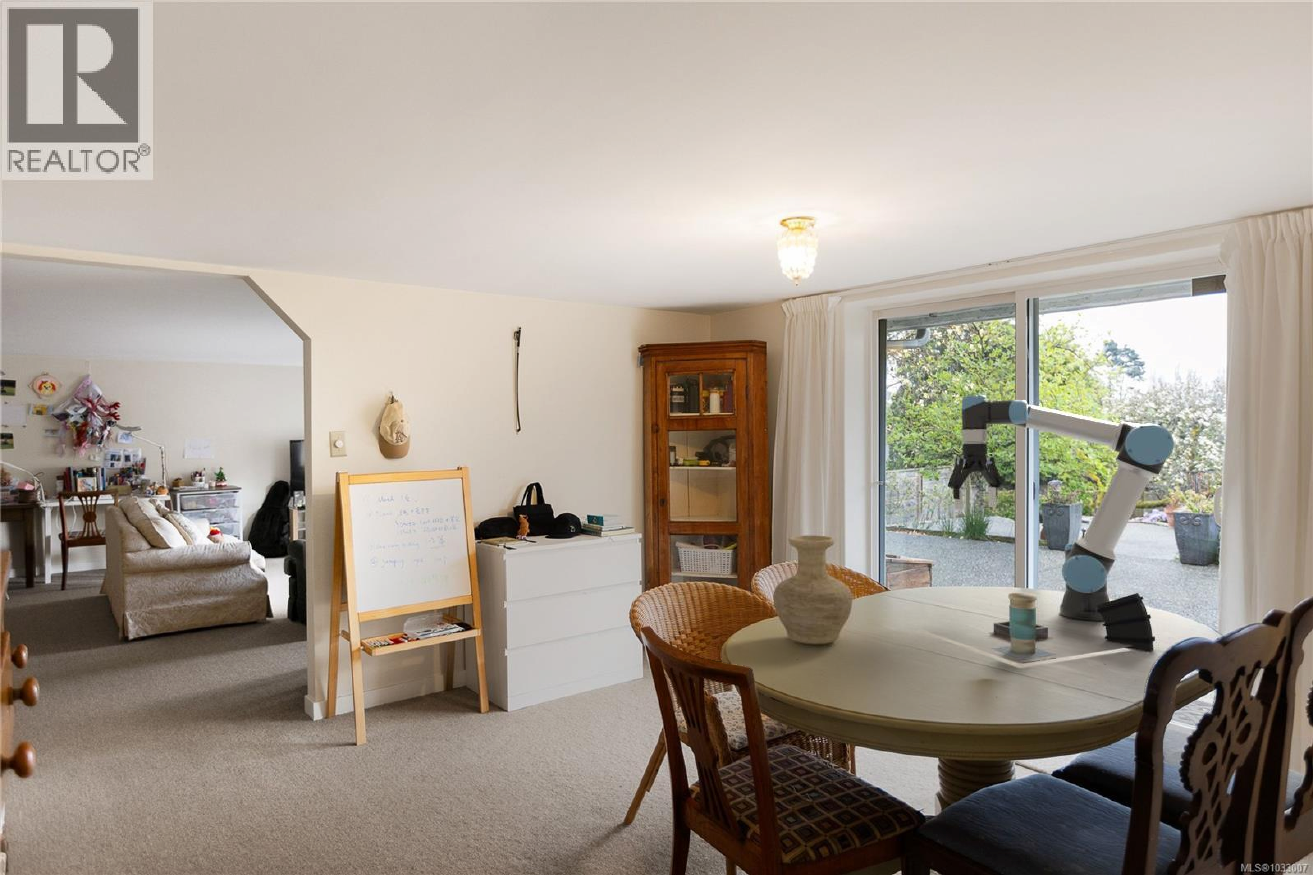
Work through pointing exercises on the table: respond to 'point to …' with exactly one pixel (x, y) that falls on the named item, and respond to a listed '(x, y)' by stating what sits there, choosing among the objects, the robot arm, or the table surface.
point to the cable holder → (1004, 631)
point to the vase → (812, 595)
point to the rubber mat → (1037, 654)
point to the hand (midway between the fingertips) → (975, 508)
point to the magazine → (1128, 622)
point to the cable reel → (1022, 623)
